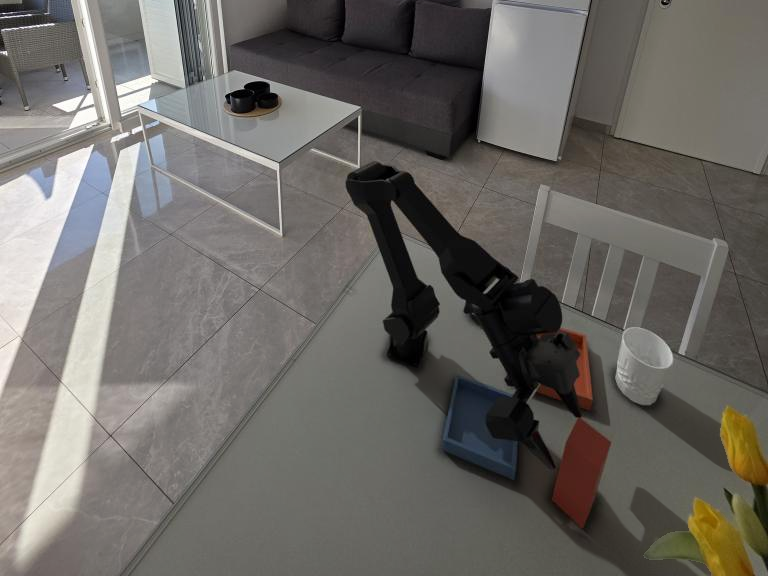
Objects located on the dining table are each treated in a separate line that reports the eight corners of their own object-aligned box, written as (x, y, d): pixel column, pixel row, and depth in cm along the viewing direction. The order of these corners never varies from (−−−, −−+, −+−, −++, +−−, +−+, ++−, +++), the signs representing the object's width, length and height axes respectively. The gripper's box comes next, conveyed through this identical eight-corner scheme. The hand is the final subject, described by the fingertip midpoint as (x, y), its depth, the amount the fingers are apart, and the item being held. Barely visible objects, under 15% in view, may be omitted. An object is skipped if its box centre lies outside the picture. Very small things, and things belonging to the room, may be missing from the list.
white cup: (667, 414, 75) (681, 373, 72) (619, 403, 76) (630, 363, 73) (650, 370, 82) (662, 331, 79) (606, 361, 84) (616, 323, 80)
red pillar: (551, 500, 63) (566, 441, 59) (564, 474, 66) (578, 416, 62) (582, 529, 60) (600, 469, 56) (594, 500, 63) (611, 441, 59)
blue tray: (442, 450, 69) (443, 439, 68) (455, 383, 79) (456, 373, 78) (514, 480, 65) (516, 469, 65) (517, 406, 75) (519, 396, 75)
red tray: (512, 383, 79) (514, 373, 78) (516, 324, 91) (518, 314, 90) (590, 410, 75) (592, 400, 74) (583, 345, 87) (586, 335, 86)
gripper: (515, 377, 54) (590, 513, 50) (574, 292, 67) (637, 396, 63) (458, 377, 61) (519, 495, 58) (521, 301, 74) (574, 393, 70)
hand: (566, 441), depth 62 cm, fingers open, 9 cm apart
